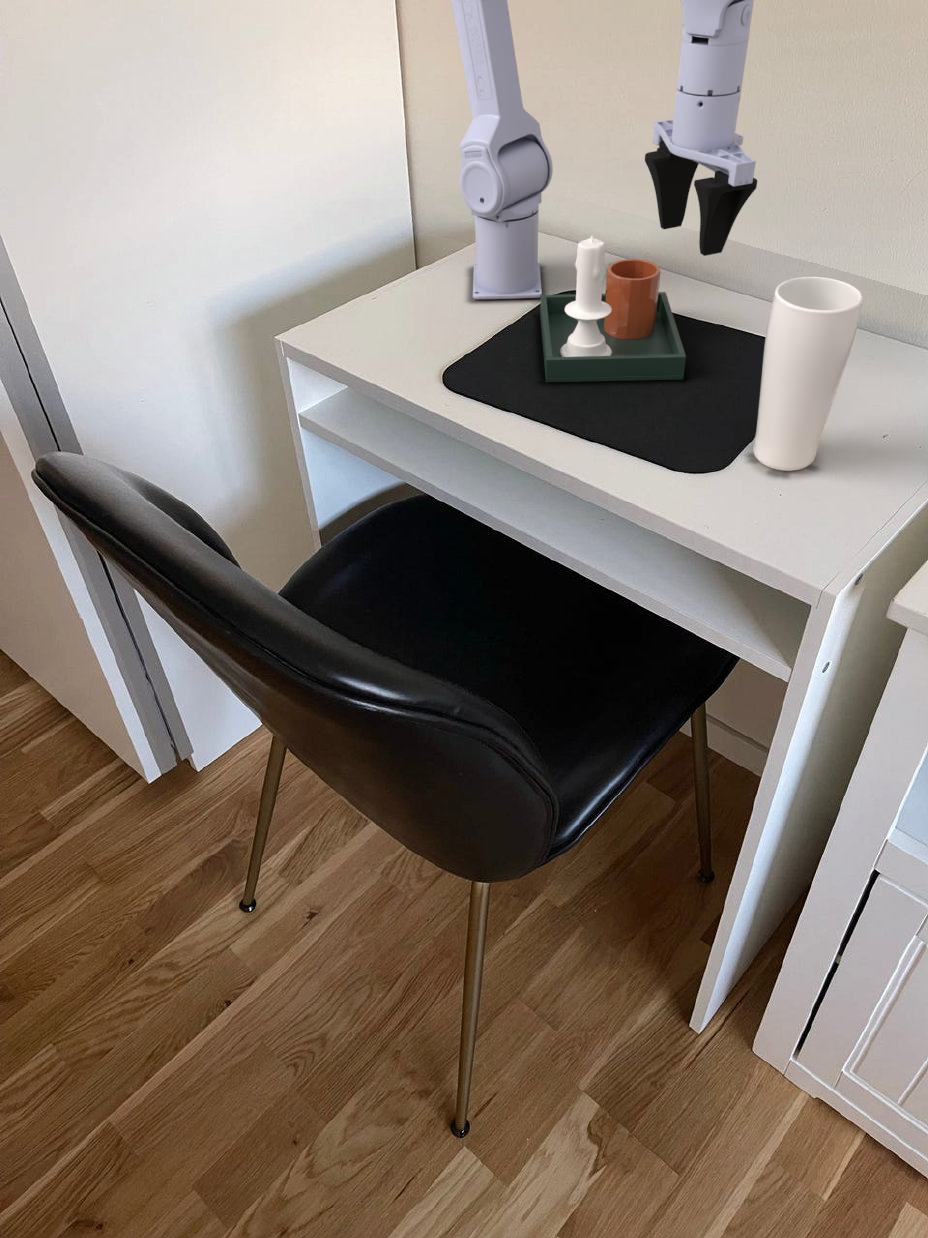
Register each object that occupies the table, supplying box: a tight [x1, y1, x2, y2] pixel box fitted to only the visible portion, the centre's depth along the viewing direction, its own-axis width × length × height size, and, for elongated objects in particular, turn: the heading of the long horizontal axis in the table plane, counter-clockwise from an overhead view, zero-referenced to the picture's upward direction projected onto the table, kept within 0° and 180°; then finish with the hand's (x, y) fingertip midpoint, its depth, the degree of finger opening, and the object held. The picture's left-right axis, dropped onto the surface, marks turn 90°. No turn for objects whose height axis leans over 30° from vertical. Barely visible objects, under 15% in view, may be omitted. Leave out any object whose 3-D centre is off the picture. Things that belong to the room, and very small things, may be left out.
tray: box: [539, 291, 687, 383], centre depth 101 cm, size 15×14×2 cm
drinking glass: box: [752, 276, 864, 472], centre depth 80 cm, size 7×7×15 cm
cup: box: [604, 258, 662, 340], centre depth 101 cm, size 5×5×6 cm
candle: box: [560, 234, 612, 357], centre depth 96 cm, size 5×5×12 cm
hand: (690, 239), depth 96 cm, fingers open, 7 cm apart
